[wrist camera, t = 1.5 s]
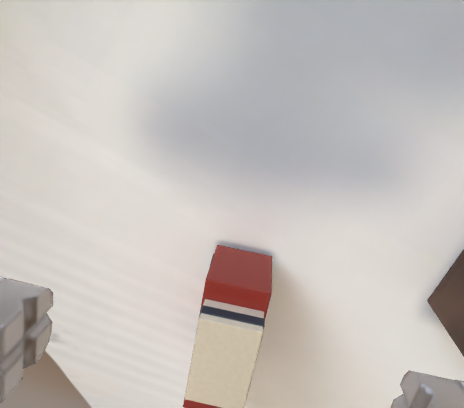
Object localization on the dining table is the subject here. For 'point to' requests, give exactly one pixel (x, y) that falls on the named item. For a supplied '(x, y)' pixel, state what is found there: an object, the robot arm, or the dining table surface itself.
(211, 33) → the dining table surface
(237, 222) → the dining table surface
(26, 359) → the robot arm
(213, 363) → the car
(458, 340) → the cabinet
